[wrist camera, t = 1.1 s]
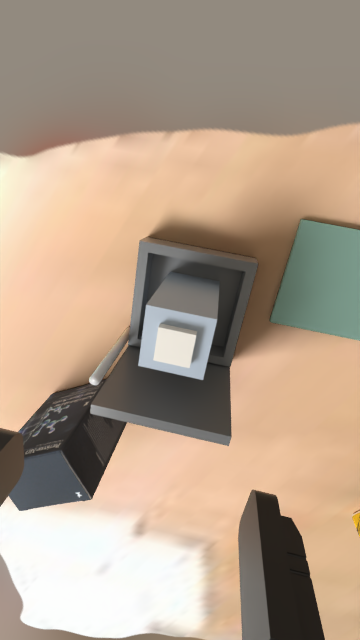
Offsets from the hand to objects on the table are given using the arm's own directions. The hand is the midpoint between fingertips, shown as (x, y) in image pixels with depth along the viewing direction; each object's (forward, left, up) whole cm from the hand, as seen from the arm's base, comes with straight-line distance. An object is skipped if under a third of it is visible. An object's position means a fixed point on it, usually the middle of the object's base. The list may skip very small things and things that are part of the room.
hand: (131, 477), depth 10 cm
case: (0, 0, -20) cm, 20 cm away
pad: (-12, -4, -20) cm, 23 cm away
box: (+9, +15, -20) cm, 26 cm away
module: (0, 0, -19) cm, 19 cm away
